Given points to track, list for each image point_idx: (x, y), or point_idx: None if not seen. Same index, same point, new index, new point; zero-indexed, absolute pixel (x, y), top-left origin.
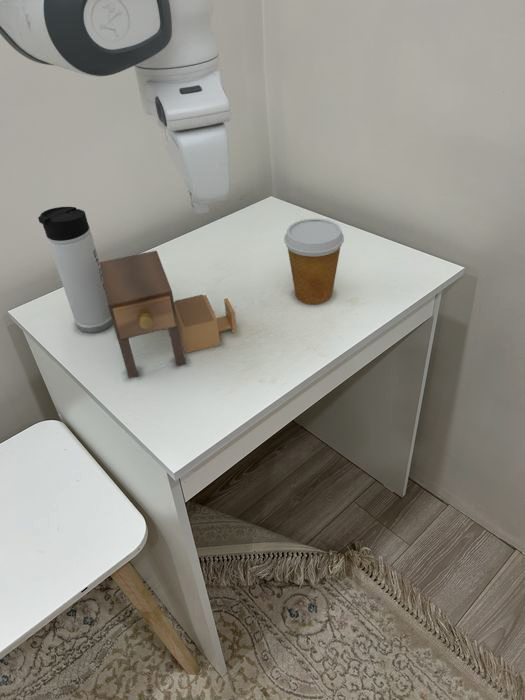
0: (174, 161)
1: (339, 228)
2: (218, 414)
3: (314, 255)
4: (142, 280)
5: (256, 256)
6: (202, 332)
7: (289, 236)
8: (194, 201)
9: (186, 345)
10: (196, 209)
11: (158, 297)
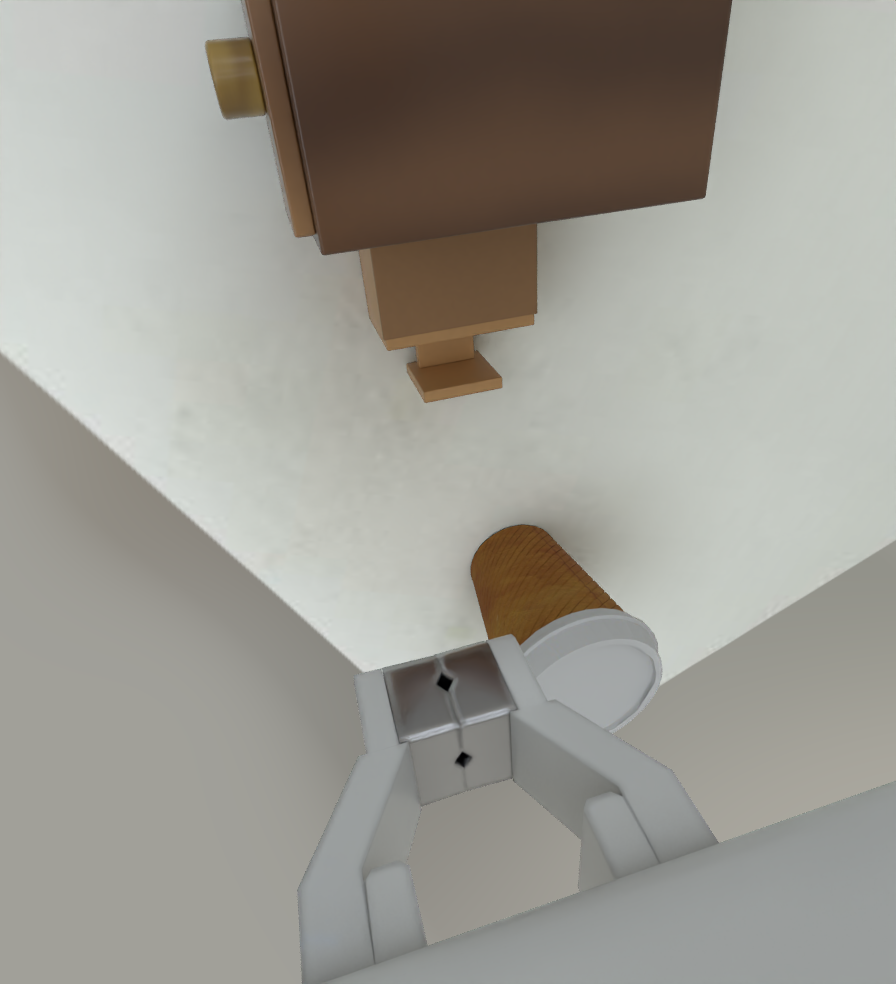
0: (771, 905)
1: None
2: (31, 281)
3: None
4: (458, 99)
5: (732, 450)
6: (372, 284)
7: (590, 645)
8: (365, 754)
9: None
10: (357, 702)
11: (305, 177)
